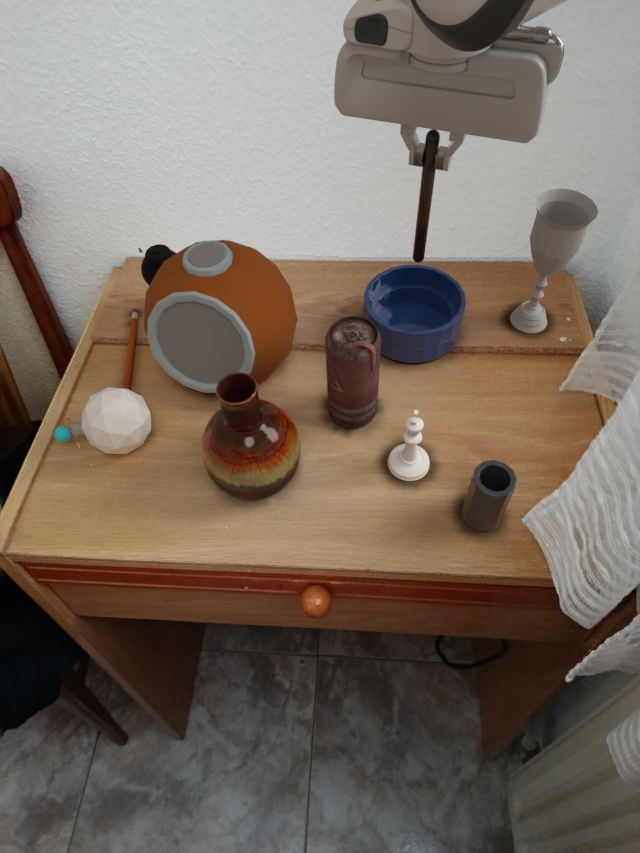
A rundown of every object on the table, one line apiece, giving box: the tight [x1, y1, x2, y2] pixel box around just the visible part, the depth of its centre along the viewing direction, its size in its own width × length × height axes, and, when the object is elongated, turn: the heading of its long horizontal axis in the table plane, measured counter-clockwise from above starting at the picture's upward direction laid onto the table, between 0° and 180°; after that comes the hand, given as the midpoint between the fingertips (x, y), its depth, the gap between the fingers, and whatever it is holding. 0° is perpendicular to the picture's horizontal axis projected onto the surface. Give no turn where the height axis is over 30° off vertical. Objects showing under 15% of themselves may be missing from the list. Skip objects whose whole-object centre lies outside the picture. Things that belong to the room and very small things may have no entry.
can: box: [324, 315, 381, 429], centre depth 70 cm, size 6×6×14 cm
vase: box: [200, 372, 301, 501], centre depth 65 cm, size 11×11×15 cm
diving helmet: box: [143, 239, 298, 394], centre depth 74 cm, size 19×18×17 cm
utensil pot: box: [461, 459, 518, 532], centre depth 63 cm, size 4×4×8 cm
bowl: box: [363, 264, 467, 364], centre depth 81 cm, size 13×13×6 cm
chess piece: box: [387, 409, 431, 482], centre depth 66 cm, size 5×5×10 cm
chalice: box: [509, 187, 599, 334], centre depth 76 cm, size 7×7×18 cm
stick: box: [412, 129, 441, 264], centre depth 67 cm, size 1×1×16 cm
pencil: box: [122, 308, 140, 390], centre depth 81 cm, size 1×19×1 cm, turn 5°
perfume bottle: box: [53, 386, 152, 455], centre depth 71 cm, size 8×8×12 cm
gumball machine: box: [138, 243, 178, 287], centre depth 84 cm, size 7×6×10 cm
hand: (429, 165), depth 63 cm, fingers closed on stick, 1 cm apart
